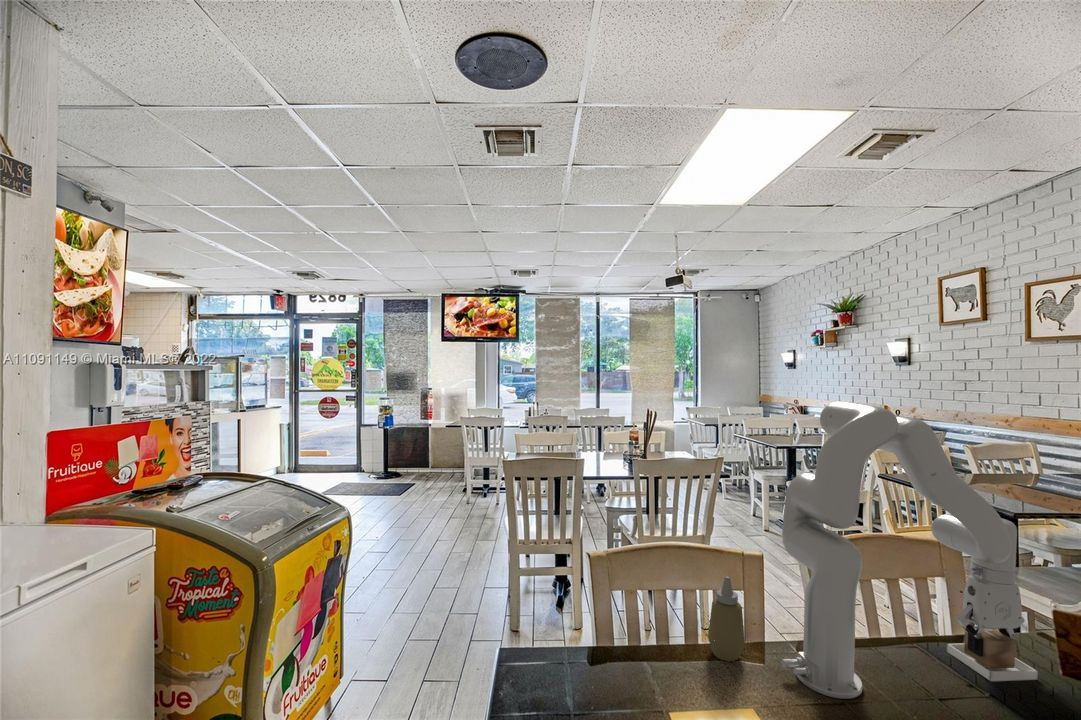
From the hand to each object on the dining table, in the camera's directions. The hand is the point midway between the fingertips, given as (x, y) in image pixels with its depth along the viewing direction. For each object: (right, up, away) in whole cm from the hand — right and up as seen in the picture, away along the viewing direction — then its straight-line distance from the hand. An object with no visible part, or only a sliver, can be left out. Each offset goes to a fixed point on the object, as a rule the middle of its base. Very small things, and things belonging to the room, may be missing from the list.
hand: (989, 651), depth 115 cm
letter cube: (0, -2, 0) cm, 2 cm away
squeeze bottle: (-58, -3, +3) cm, 58 cm away
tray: (0, -3, 0) cm, 3 cm away
